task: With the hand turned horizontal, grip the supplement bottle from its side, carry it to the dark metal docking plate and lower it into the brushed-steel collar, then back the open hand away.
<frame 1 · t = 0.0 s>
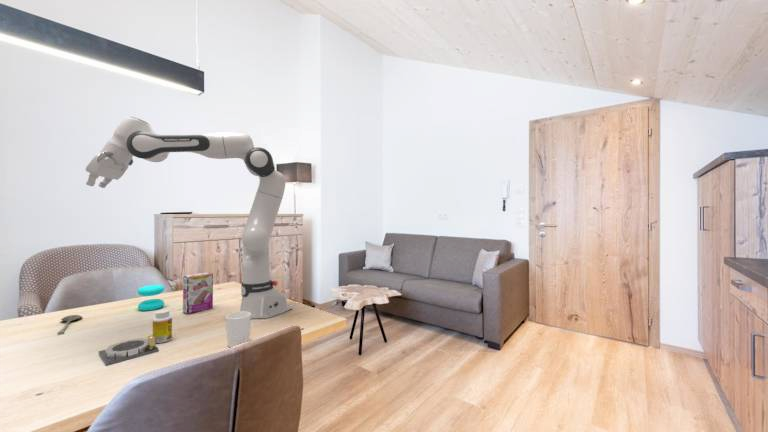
hand: (95, 186, 122), 54 cm above the table, tool tilted 30°, fingers open, 8 cm apart
white cup: (238, 344, 110), on the table
supplement bottle: (162, 341, 113), on the table
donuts: (151, 308, 150), on the table
dock: (128, 352, 104), on the table
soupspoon: (67, 327, 127), on the table
candy bar box: (198, 310, 147), on the table
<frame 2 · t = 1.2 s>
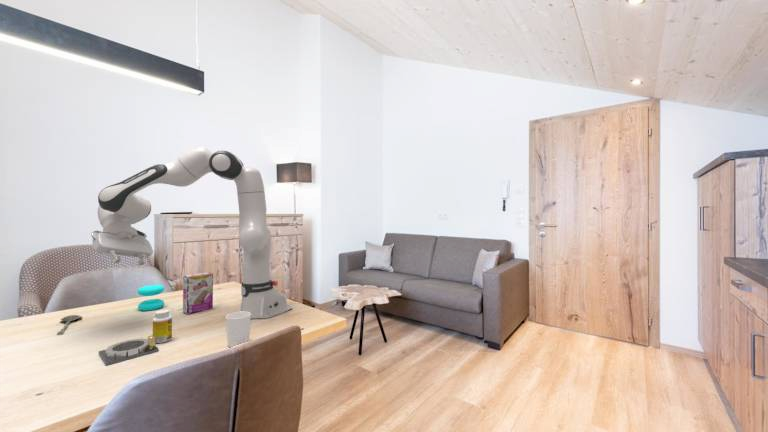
hand: (130, 263, 122), 25 cm above the table, tool tilted 45°, fingers open, 8 cm apart
nothing on the table moved.
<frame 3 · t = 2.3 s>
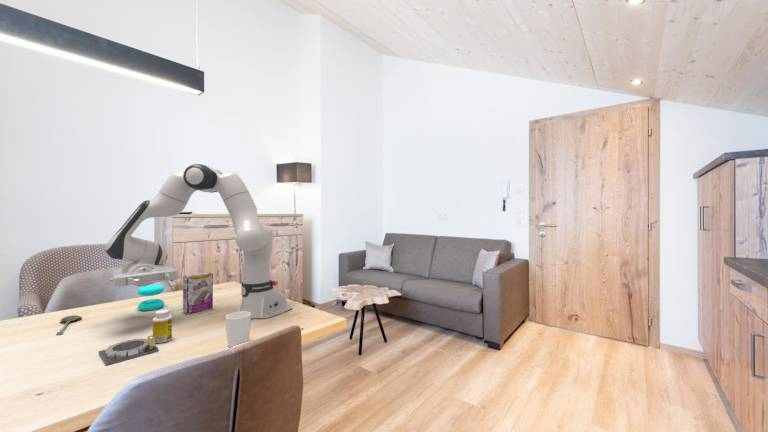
hand: (152, 280, 120), 19 cm above the table, tool horizontal, fingers open, 8 cm apart
nothing on the table moved.
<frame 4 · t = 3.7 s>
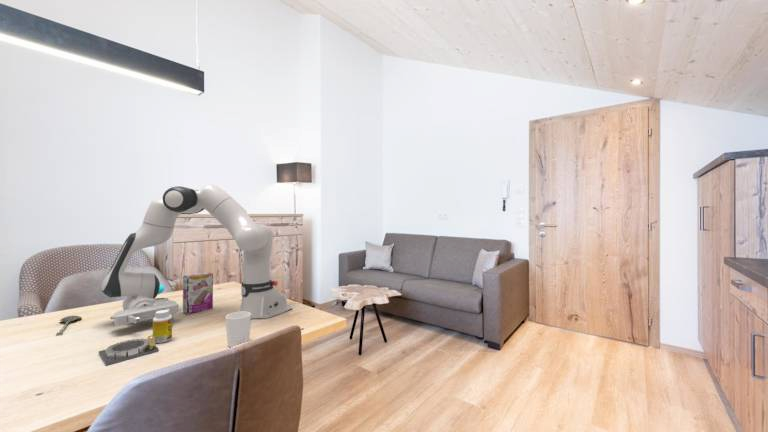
hand: (152, 317, 121), 6 cm above the table, tool horizontal, fingers open, 8 cm apart
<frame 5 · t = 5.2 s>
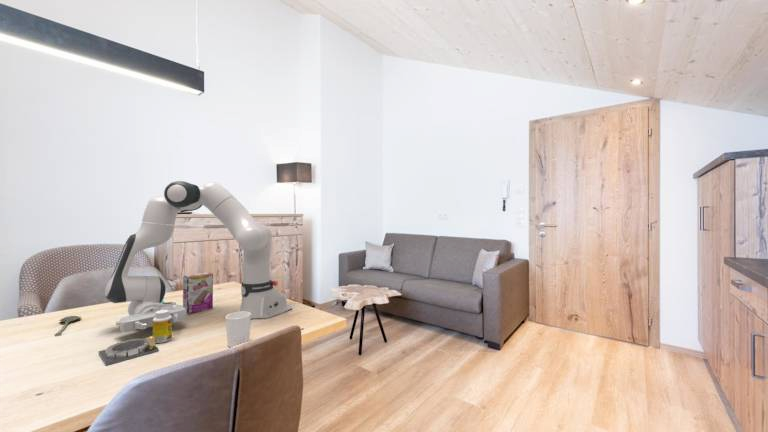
hand: (160, 323, 115), 5 cm above the table, tool horizontal, fingers open, 8 cm apart
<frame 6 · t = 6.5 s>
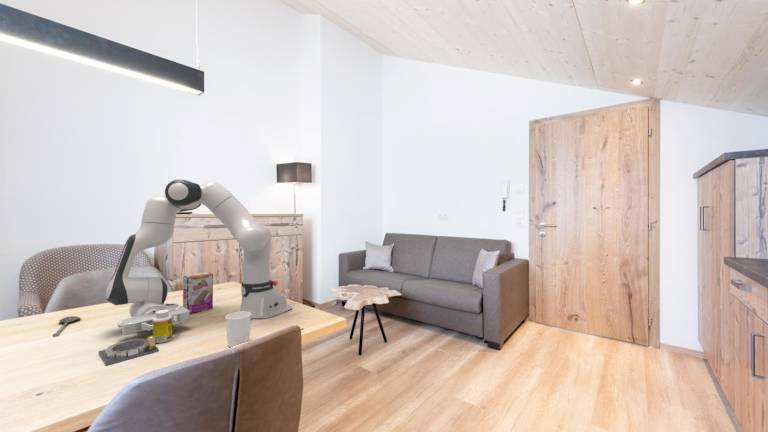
hand: (163, 325, 112), 6 cm above the table, tool horizontal, fingers closed on supplement bottle, 5 cm apart
supplement bottle: (162, 341, 113), on the table, touching gripper
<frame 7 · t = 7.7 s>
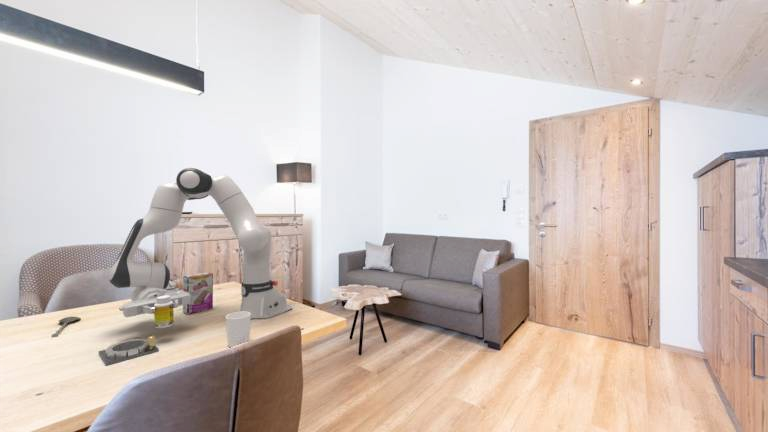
hand: (164, 307, 112), 12 cm above the table, tool horizontal, fingers closed on supplement bottle, 5 cm apart
supplement bottle: (164, 326, 113), point 5 cm above the table, touching gripper
when the fingers open (8 cm above the table, at t = 11.5 s): supplement bottle stays where it is, resting on dock.
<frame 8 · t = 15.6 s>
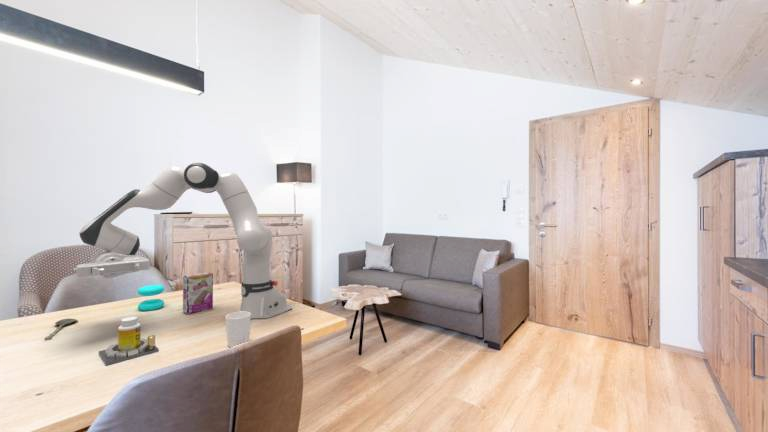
hand: (119, 269, 111), 25 cm above the table, tool horizontal, fingers open, 8 cm apart
supplement bottle: (129, 351, 103), point 1 cm above the table, touching dock
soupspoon: (59, 331, 123), on the table
everything else where it was.
at the end: supplement bottle 0.9 cm off-centre on the dock, point 0.6 cm above the dock's base; supplement bottle tilted 0°; the gripper is holding nothing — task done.
